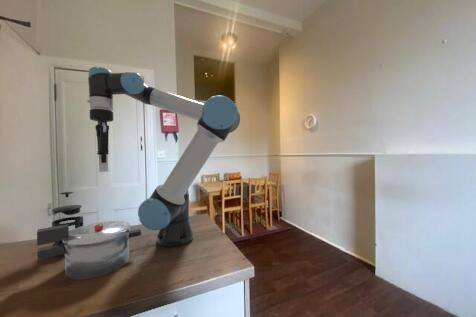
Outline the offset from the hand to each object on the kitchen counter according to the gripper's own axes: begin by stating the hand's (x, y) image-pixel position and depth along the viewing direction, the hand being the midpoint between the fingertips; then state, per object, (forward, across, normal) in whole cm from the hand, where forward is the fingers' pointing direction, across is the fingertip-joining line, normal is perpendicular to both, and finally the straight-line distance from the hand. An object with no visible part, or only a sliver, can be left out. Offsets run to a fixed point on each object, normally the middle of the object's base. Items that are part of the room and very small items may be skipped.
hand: (103, 171), depth 78 cm
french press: (+31, -11, -11) cm, 35 cm away
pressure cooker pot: (+31, +9, -3) cm, 33 cm away
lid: (+21, +9, -6) cm, 23 cm away
